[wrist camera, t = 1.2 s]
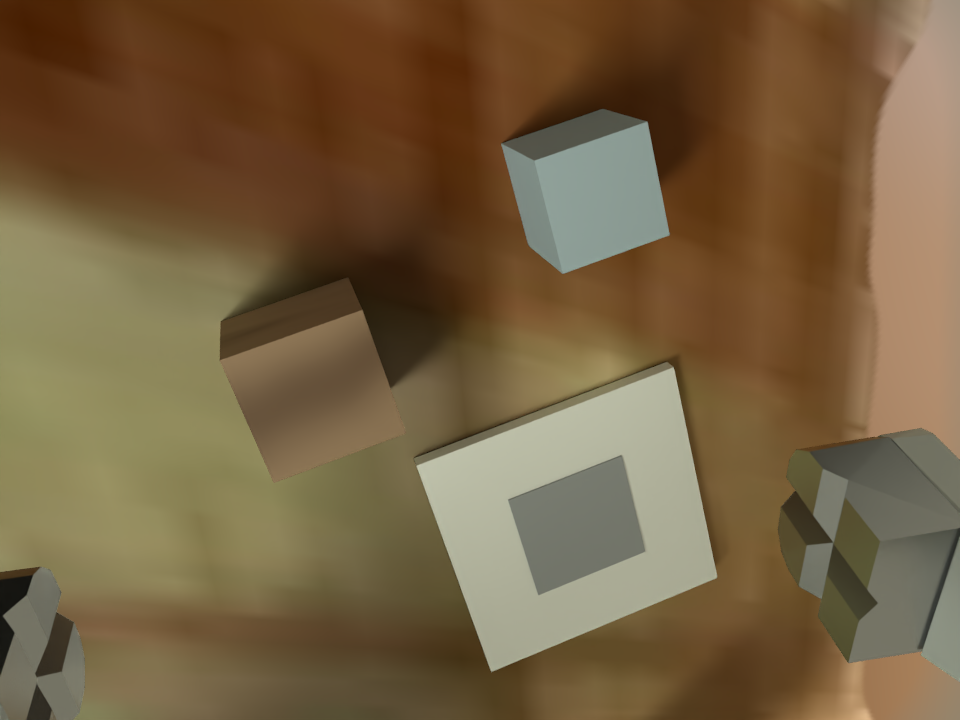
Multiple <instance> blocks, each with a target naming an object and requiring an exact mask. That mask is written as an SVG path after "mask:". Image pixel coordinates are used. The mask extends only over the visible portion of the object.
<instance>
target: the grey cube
mask: <svg viewBox="0 0 960 720" xmlns="http://www.w3.org/2000/svg"><path fill="white" fill-rule="evenodd" d="M501 144H502V148H503V152H504V156H505V159H506V163H507V167H508V171H509V174H510V178H511V182H512V186H513V189H514V193H515V197H516V201H517V204H518V208H519V212H520V215H521V219H522V223H523V227H524V230H525V234H526V238H527V242H528V245H529V246H530V247H531V248H532V249H533V250H534V251H536V252H537V253H538V254H539V255H541V256H542V257H543V258H544V259H545V260H547V261H548V262H549V263H550V264H552V265H553V266H554V267H555V268H556V269H558V270H559V271H560V272H561V273H563V274H564V273H566V272H569V271H572V270H575V269H578V268H580V267H583V266H586V265H589V264H591V263H594V262H597V261H600V260H602V259H605V258H608V257H611V256H613V255H616V254H619V253H622V252H624V251H627V250H630V249H633V248H635V247H638V246H641V245H644V244H646V243H649V242H652V241H655V240H657V239H660V238H663V237H666V236H668V235H670V234H669V229H668V224H667V219H666V214H665V209H664V204H663V199H662V194H661V189H660V183H659V178H658V173H657V168H656V163H655V158H654V153H653V148H652V143H651V137H650V132H649V127H648V122H647V121H643V120H640V119H636V118H633V117H629V116H626V115H623V114H619V113H616V112H612V111H609V110H605V109H601V110H598V111H595V112H592V113H589V114H586V115H583V116H580V117H577V118H574V119H571V120H569V121H566V122H563V123H560V124H557V125H554V126H551V127H548V128H545V129H542V130H539V131H536V132H533V133H530V134H528V135H525V136H522V137H519V138H516V139H513V140H510V141H507V142H504V143H501Z"/></svg>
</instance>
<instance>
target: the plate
mask: <svg viewBox="0 0 960 720" xmlns="http://www.w3.org/2000/svg"><path fill="white" fill-rule="evenodd" d="M414 461H415V464H416V466H417V469H418V472H419V475H420V477H421V480H422V483H423V486H424V488H425V491H426V494H427V497H428V499H429V502H430V505H431V508H432V510H433V513H434V516H435V519H436V521H437V524H438V527H439V530H440V532H441V535H442V538H443V541H444V543H445V546H446V549H447V552H448V554H449V557H450V560H451V563H452V566H453V568H454V571H455V574H456V577H457V579H458V582H459V585H460V588H461V590H462V593H463V596H464V599H465V601H466V604H467V607H468V610H469V612H470V615H471V618H472V621H473V623H474V626H475V629H476V632H477V634H478V637H479V640H480V643H481V645H482V648H483V651H484V654H485V656H486V659H487V662H488V665H489V667H490V670H491V672H492V671H495V670H497V669H499V668H502V667H504V666H507V665H509V664H511V663H514V662H516V661H519V660H521V659H524V658H526V657H528V656H531V655H533V654H536V653H538V652H540V651H543V650H545V649H548V648H550V647H552V646H555V645H557V644H560V643H562V642H564V641H567V640H569V639H572V638H574V637H576V636H579V635H581V634H584V633H586V632H588V631H591V630H593V629H596V628H598V627H600V626H603V625H605V624H608V623H610V622H612V621H615V620H617V619H620V618H622V617H624V616H627V615H629V614H632V613H634V612H636V611H639V610H641V609H644V608H646V607H648V606H651V605H653V604H656V603H658V602H660V601H663V600H665V599H668V598H670V597H672V596H675V595H677V594H680V593H682V592H684V591H687V590H689V589H692V588H694V587H696V586H699V585H701V584H704V583H706V582H708V581H711V580H713V579H716V578H717V573H716V568H715V564H714V559H713V554H712V549H711V544H710V539H709V535H708V530H707V525H706V520H705V515H704V510H703V506H702V501H701V496H700V491H699V486H698V482H697V477H696V472H695V467H694V462H693V457H692V453H691V448H690V443H689V438H688V433H687V428H686V424H685V419H684V414H683V409H682V404H681V399H680V395H679V390H678V385H677V380H676V375H675V371H674V367H673V366H672V365H670V364H669V363H668V362H665V363H662V364H660V365H657V366H655V367H652V368H649V369H647V370H644V371H641V372H639V373H636V374H634V375H631V376H628V377H626V378H623V379H620V380H618V381H615V382H613V383H610V384H607V385H605V386H602V387H599V388H597V389H594V390H592V391H589V392H586V393H584V394H581V395H578V396H576V397H573V398H571V399H568V400H565V401H563V402H560V403H558V404H555V405H552V406H550V407H547V408H544V409H542V410H539V411H537V412H534V413H531V414H529V415H526V416H523V417H521V418H518V419H516V420H513V421H510V422H508V423H505V424H502V425H500V426H497V427H495V428H492V429H489V430H487V431H484V432H482V433H479V434H476V435H474V436H471V437H468V438H466V439H463V440H461V441H458V442H455V443H453V444H450V445H447V446H445V447H442V448H440V449H437V450H434V451H432V452H429V453H426V454H424V455H421V456H419V457H416V458H414Z"/></svg>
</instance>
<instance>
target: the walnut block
mask: <svg viewBox="0 0 960 720" xmlns="http://www.w3.org/2000/svg"><path fill="white" fill-rule="evenodd" d="M220 362H221V364H222V367H223V369H224V371H225V373H226V376H227V378H228V380H229V382H230V385H231V387H232V389H233V391H234V394H235V396H236V398H237V400H238V403H239V405H240V407H241V410H242V412H243V414H244V416H245V419H246V421H247V423H248V425H249V428H250V430H251V432H252V434H253V437H254V439H255V441H256V443H257V446H258V448H259V450H260V453H261V455H262V457H263V459H264V462H265V464H266V466H267V468H268V471H269V473H270V475H271V477H272V480H273V482H274V483H275V482H277V481H280V480H283V479H285V478H288V477H291V476H293V475H296V474H299V473H301V472H304V471H307V470H309V469H312V468H315V467H317V466H320V465H323V464H326V463H328V462H331V461H334V460H336V459H339V458H342V457H344V456H347V455H350V454H352V453H355V452H358V451H360V450H363V449H366V448H368V447H371V446H374V445H376V444H379V443H382V442H384V441H387V440H390V439H392V438H395V437H398V436H400V435H403V434H406V431H405V428H404V425H403V422H402V420H401V417H400V414H399V411H398V408H397V406H396V403H395V400H394V397H393V394H392V392H391V389H390V386H389V383H388V380H387V378H386V375H385V372H384V369H383V366H382V364H381V361H380V358H379V355H378V352H377V350H376V347H375V344H374V341H373V338H372V336H371V333H370V330H369V327H368V324H367V322H366V319H365V316H364V313H363V310H362V308H361V306H360V303H359V301H358V299H357V296H356V294H355V292H354V290H353V287H352V285H351V283H350V280H349V278H348V277H347V278H344V279H341V280H339V281H336V282H333V283H330V284H327V285H324V286H321V287H318V288H316V289H313V290H310V291H307V292H304V293H301V294H298V295H296V296H293V297H290V298H287V299H284V300H281V301H278V302H275V303H273V304H270V305H267V306H264V307H261V308H258V309H255V310H253V311H250V312H247V313H244V314H241V315H238V316H235V317H232V318H230V319H227V320H224V321H221V331H220Z"/></svg>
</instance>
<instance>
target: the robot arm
mask: <svg viewBox="0 0 960 720" xmlns="http://www.w3.org/2000/svg"><path fill="white" fill-rule="evenodd" d="M786 478H787V479H788V481H789V482H790V483H791V485H792V486H793V488H794V489H795V490H796V491H795V492H794V493H793V494H792V495H791V496H790V497H789V499H788V500H787V501H786V502H785V503H784V504H783V505H782V506H781V510H780V518H779V525H778V533H779V539H780V545H781V552H782V555H783V557H784V560H785V562H786V565H787V567H788V570H789V571H790V573H791V575H792V576H793V578H794V579H795V581H796V583H797V584H798V586H799V587H801V588H803V589H804V590H806V591H808V592H810V593H811V594H813V595H815V596H817V597H818V598H820V599H821V603H820V608H819V613H818V617H819V619H820V620H821V622H822V623H823V625H824V627H825V628H826V630H827V631H828V633H829V634H830V636H831V637H832V639H833V640H834V642H835V644H836V645H837V647H838V648H839V650H840V651H841V653H842V654H843V656H844V657H845V659H846V660H847V662H848V663H852V662H858V661H865V660H870V659H877V658H883V657H890V656H896V655H902V654H909V653H915V652H921V651H922V653H921V656H923V657H924V658H925V659H927V660H929V661H930V662H931V663H933V664H934V665H936V666H937V667H939V668H940V669H941V670H943V671H944V672H946V673H947V674H949V675H950V676H952V677H953V678H955V679H956V680H957V681H959V682H960V460H959V459H958V458H957V457H956V456H955V455H954V454H953V453H952V452H951V451H950V450H949V449H948V448H947V447H946V446H945V445H944V444H943V443H942V442H941V441H940V440H939V439H938V438H937V437H936V436H935V435H934V434H933V433H931V432H929V431H926V430H924V429H922V428H919V429H913V430H908V431H901V432H896V433H890V434H884V435H880V436H878V437H870V438H864V439H858V440H852V441H846V442H839V443H833V444H827V445H821V446H815V447H809V448H803V449H797V450H796V451H795V452H794V454H793V455H792V457H791V459H790V461H789V466H788V471H787V476H786ZM60 596H61V591H60V588H59V586H58V584H57V582H56V580H55V578H54V576H53V574H52V572H51V570H49V569H46V568H43V567H35V568H28V569H20V570H13V571H5V572H0V720H73V719H74V718H75V717H76V716H77V715H78V714H79V712H80V708H81V703H82V698H83V693H84V688H85V658H84V653H83V648H82V644H81V639H80V636H79V634H78V631H77V629H76V626H75V624H74V622H73V621H71V620H69V619H67V618H66V617H64V616H62V615H60V614H59V613H57V612H56V611H57V607H58V603H59V599H60Z"/></svg>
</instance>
